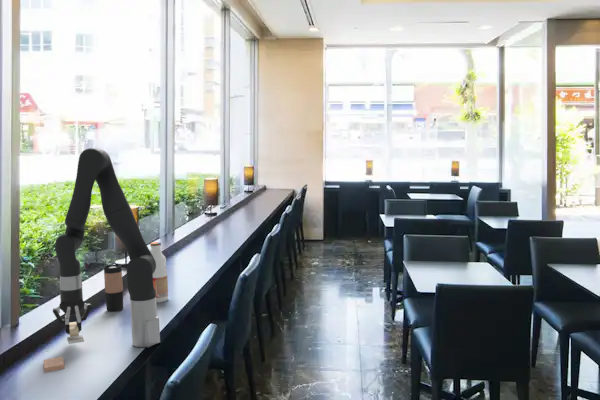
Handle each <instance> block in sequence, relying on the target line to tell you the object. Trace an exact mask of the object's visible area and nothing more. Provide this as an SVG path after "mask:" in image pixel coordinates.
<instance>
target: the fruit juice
mask: <svg viewBox="0 0 600 400" xmlns="http://www.w3.org/2000/svg"><path fill="white" fill-rule="evenodd" d="M149 244H150V245H149V246H150V252H151V254H152V256H153V257H154V259H155V262H156V269H155V272H154V273H153V286H154V289H155V290H156V304H157V303H164V302H166V301H168V300H169V286H168V284H169V283H168V281H169V280H168V269H167V267H166V265H167V257H166V256H165V255H164V254H163V251H162V249H161V246H162V243H161V242H160V241H153V242H150V243H149Z"/></svg>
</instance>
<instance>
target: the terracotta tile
mask: <svg viewBox="0 0 600 400" xmlns="http://www.w3.org/2000/svg"><path fill="white" fill-rule="evenodd" d="M64 361H65V360H64V356H58V357H52V358H46V359H43V370H44V373H48V372H53V371H57V370H63V369H65V362H64Z"/></svg>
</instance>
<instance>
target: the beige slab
mask: <svg viewBox="0 0 600 400" xmlns="http://www.w3.org/2000/svg"><path fill="white" fill-rule="evenodd" d="M69 326H70V327H69V329H70V334H68V335H69V336H67V338H66V339H67V342H68V344H69V345H71V344H78V343H83V342H85V339H84V336H83V334H80V333H79V329H78V326H77V321H72V322H71V321H69Z"/></svg>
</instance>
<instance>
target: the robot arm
mask: <svg viewBox="0 0 600 400" xmlns="http://www.w3.org/2000/svg"><path fill="white" fill-rule="evenodd" d="M78 157H79V158H78V161H77V170H76V176H75V177H76V178H75V182H74V187H73V191H72V194H71V195H72V197H71V200H70V202H69V205H68V209H67V212H66V216H65V219H64V224H65V226H66V228H65V232H64V234H63V233H62V234H61V235H59V236H58V237H57V238H56V239H55V244H54V250H55V255H56V258H57V261H58V265H59V296H60V297H59V298H60V303H59V306H57V307H53V308H52V313H53V315H54V316H55V318H56V320H57V321H58V323H59V324H61V325H64V328H65V329H64V331H65V333H66V334H67V335H69V334H70V329H69V327H70V326H69V323H70V316H72V315H75V317H76V323H77V326H78V329H79V334H80V332H81V331H82V323H83V321H86V320H87V317H88V316H89V313H90V312H91V309H92V304H91V303H89V302H88V303H85V301H84V299H83V297H84V296H83V281H82V273H81V261H80V260H79V259H78V258H77V255H76V251H78V250H79V248H80V247H81V246H82V244H83V240H84V235H85V225H86V223H87V221H88V216H89V213H90V211H91V204H92V195H93V194H92V193H93V188H94V184H95V182H96V184H97V187H98V188H99V192H100V193H99V194H100V200H101V201H100V202H101V207H102V211H103V213H104V216H105V218H106V221H107V223H108V225H109V227H110V229H111V230H112V231H113V233H114V234H115V236H116V237H117V238H118V239H119V240H120V242H121V243H122V245H123V246H124V248H125V249H126V252H127V254H128V258H129V261H128V263H127V266H126V281H127V291H128V294H129V299H130V300H129V302H130V304H129V305H130V323H131V324H130V325H131V339H132V346H133V347H136V348H150V347H152V346H155V345H157V344H159V343H161V333H160V332H161V330H160V318H159V316H158V314H157V313H158V312H157V311H158V309H157V303H156V290H155V289H154V286H153V273H154V272H155V269H156V262H155V259H154V257H153V256H152V254H151V249H149V247H148V245H147V244H146V241H145V240H144V237H143V235H142V233H141V230H140V227H139V225H138V222H137V220H136V218H135V215H134V213H133V210H132V208H131V206H130V203H129V202H128V201H129V200H128V199H127V197H126V196H125V193H124V190H123V189H122V186H121V185H120V183H119V181H118V178H117V174H116V172H115V169H114V166H113V163H112V159H111V157H110V154H108V152H107V151H106V150H104V149H102V148H98V147H93V148H92V147H89V148H86V149H84V150H83V151H82V152H80V154H79V156H78ZM83 308H84V312H83V314H82V316H81V313H80V312H81V310H82V309H83ZM60 310H61V311H62V312H63V313H64V319H63V318H62V316H61V315H60V312H61V311H60Z"/></svg>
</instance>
